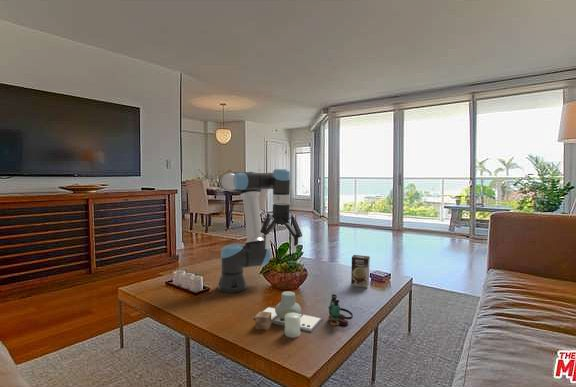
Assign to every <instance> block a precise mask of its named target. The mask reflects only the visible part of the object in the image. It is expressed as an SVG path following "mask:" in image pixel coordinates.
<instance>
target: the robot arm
mask: <svg viewBox="0 0 576 387" xmlns="http://www.w3.org/2000/svg"><path fill="white" fill-rule="evenodd" d="M219 184H220V186H221V188H222V189H223V190H225V191H227V192H230V193H239V196H240V197H241V198H242V201H243V207H244V208H243V210H244V220H245V229H246V230H245V231H246V232H245V233H246V241H245V242H244V245H243V243H230V244H227V245H225V246H223V247H222V248H221V251H220V267H221V269H220V270H221V274H220V278H219V281H218V285H217V290H218V291H219V292H221V293H225V294H234V293H241V292H243V291H245V290H247V288H248V287H247V286H248V284H247V281H246V278H245V274H244V269H245V268H253V267H254V268H255V267H261V266H266V265H268V264H269V262H270V260H271V255H272V254H271V252H272V251H271V234H270V232H271V231H272V230H273V229H274V227H275V226H276V225H281V226H284V227H286V228H287V230H288V231H289V233H290V234H291V236H292V238H291V239H292V240H291V254H295V253H297V246H298V245H299V238H301V237H303V233H302V231H301V229H300V227H299V224H298V221H297V215H290V206H291V205H290V202H291V200H290V198H291V197H290V196H291V195H290V192H291V171H290V170H289V169H285V168H284V169H283V168H282V169H281V168H275V169H273V171H272V172H257V171H230V172H227V173H224V174H223V175H222V176H221V177H220V180H219ZM263 190H272V203H273V204H272V213H271V212H269V213H266V218H265V220H264V223H263V224H262V220H261V219H262V218H261V212H260V202H259V196H260V195H261V192H263ZM271 219H273V220H272V221H271ZM290 221H291V222H290ZM270 222H271V223H270ZM268 261H269V262H268Z"/></svg>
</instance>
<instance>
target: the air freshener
mask: <svg viewBox="0 0 576 387" xmlns="http://www.w3.org/2000/svg"><path fill="white" fill-rule="evenodd" d="M280 296H281V297H280V299H281V300H280V301H279V303H278V304H276V306H275V307H274V308H275V312H276V314H277V315H278V316H279V317H280V318H283V319H285V314H287V313H298V314H302V308H301V306H300V304H299V303H298V302H296V293H295V292H294V291H290V290H289V291H285V290H284V291H283V292H281V294H280Z"/></svg>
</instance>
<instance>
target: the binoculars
mask: <svg viewBox="0 0 576 387" xmlns="http://www.w3.org/2000/svg"><path fill="white" fill-rule="evenodd" d="M339 302H340V300H339V299H337V294H333V293H332V294H331V299H330V302H329V306H328V315H329V316H328V317H327V318H328V319H327V320H328V321H330V326H333V327H334V326H336V325H344V326H348V325H349V321H348V320H352V319H353V317H354V316H353V313H352V311H350V310H348V309H346V308H343V307H341V306H340V304H339ZM341 311H343V312H346V313H347V314H349V315H350V316H345V315H344V314H341Z"/></svg>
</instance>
